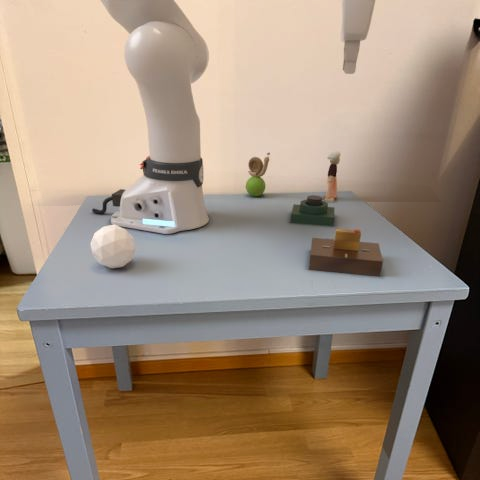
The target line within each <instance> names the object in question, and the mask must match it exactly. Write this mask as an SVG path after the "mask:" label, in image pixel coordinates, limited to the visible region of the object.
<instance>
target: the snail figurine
mask: <svg viewBox="0 0 480 480" xmlns="http://www.w3.org/2000/svg"><path fill="white" fill-rule="evenodd" d="M266 155H267V156H265V157H264V158H263V161H262V159H261V158H260V157H258V156H253V157H251V158H250V159H249V160H248V165H247V166H248V169H249V170H248V171H247V173H248V174H249V176H251V177H249V178H248V179H247V181H246V182H245V190H246V192H247V194H248V195H250V196H251V197H260V196H261V195H263V194H264V193H265V190H266V187H267V186H266V181H265V180H264V178H263V176H265V174H266V172H267V170H268V166H269V162H270V155H271V152H270V151H269V152H267V153H266Z"/></svg>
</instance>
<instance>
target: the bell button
mask: <svg viewBox="0 0 480 480" xmlns="http://www.w3.org/2000/svg"><path fill="white" fill-rule="evenodd" d="M306 200H307V205H311V206H321V205H322V201H323V197H322V196H320V195H314V194H313V195H312V194H311V195H307V196H306Z"/></svg>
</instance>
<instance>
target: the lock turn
mask: <svg viewBox="0 0 480 480" xmlns="http://www.w3.org/2000/svg"><path fill="white" fill-rule="evenodd" d="M361 236H362V230H361V229H357V228H355V229H342V228H336V229H335V233H334V249H342V250H354V251H358V249H359V243H360V242H361V238H362V237H361Z"/></svg>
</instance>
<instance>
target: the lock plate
mask: <svg viewBox="0 0 480 480" xmlns="http://www.w3.org/2000/svg"><path fill="white" fill-rule="evenodd" d="M334 239H335V238H334ZM334 239H332V238H322V237H312V238H311V245H310V246H311V247H310V256H309V263H308V270H312V271H319V272H320V271H321V272H322V271H323V272H332V273H343V274H351V275H352V274H353V275H360V276H361V275H362V276H371V277H372V276H373V277H380V276H381V273H382V267H383V263H384V260H383V257H382V252H381V247H380V243H378V242H369V241H368V242H367V241H360V243H359V249H358V251H354V250H342V249H334Z"/></svg>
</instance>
